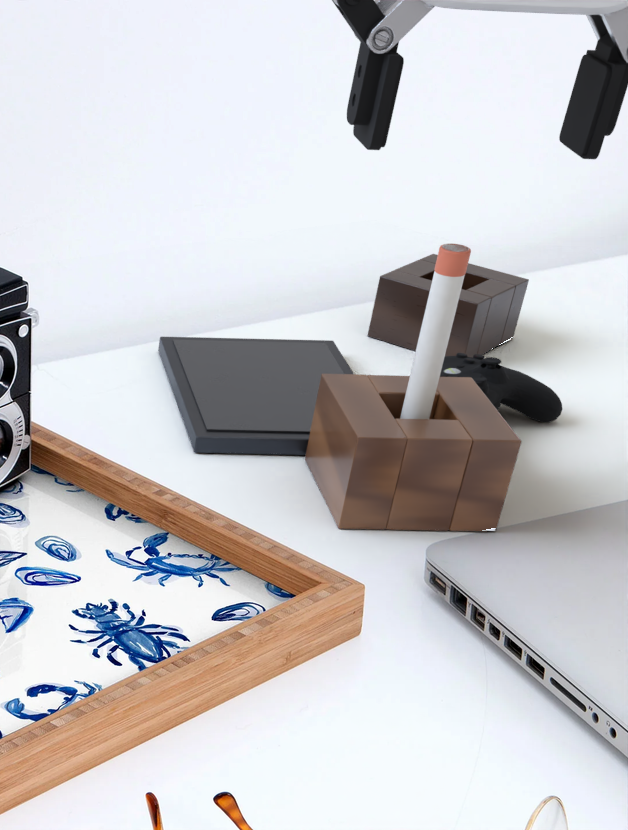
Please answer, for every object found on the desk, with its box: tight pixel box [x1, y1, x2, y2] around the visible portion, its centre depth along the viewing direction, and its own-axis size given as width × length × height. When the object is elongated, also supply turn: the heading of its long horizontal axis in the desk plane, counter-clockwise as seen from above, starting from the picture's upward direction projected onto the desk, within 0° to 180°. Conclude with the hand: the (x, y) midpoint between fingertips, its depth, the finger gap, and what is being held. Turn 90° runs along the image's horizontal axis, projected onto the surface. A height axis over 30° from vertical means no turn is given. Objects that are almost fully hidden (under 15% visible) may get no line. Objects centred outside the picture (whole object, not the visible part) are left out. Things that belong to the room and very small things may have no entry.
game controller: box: [440, 353, 563, 423], centre depth 84 cm, size 10×5×7 cm
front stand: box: [304, 373, 522, 532], centre depth 76 cm, size 8×8×5 cm
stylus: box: [400, 243, 472, 419], centre depth 73 cm, size 1×1×13 cm
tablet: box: [157, 336, 355, 456], centre depth 86 cm, size 11×15×1 cm
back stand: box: [367, 253, 530, 358], centre depth 95 cm, size 7×7×4 cm
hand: (472, 146), depth 67 cm, fingers open, 9 cm apart
